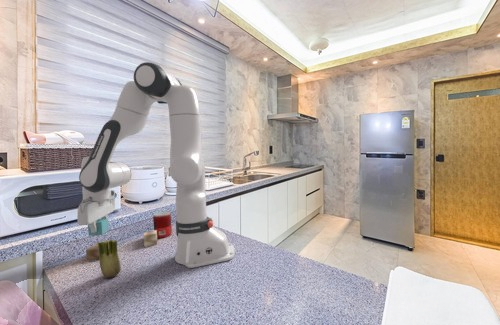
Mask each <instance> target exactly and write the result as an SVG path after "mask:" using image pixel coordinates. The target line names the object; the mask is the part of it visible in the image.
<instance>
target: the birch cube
mask: <svg viewBox="0 0 500 325" xmlns="http://www.w3.org/2000/svg"><path fill="white" fill-rule="evenodd" d="M143 233H144V234H143V241H144V242H143V243H144V247H145V248H146V247H150V246H151V245H152V246H156V245H158V238H157V230H154V229H153V230H150V231H149V230H148V231H144V232H143Z"/></svg>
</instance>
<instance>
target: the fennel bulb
mask: <svg viewBox="0 0 500 325" xmlns="http://www.w3.org/2000/svg"><path fill="white" fill-rule="evenodd" d="M108 242H109V246H108ZM98 246H99V259H98V260H99V267H100V271H101V273H102V276H103V278H105V279H111V278H114V277H116V276H117V275H118V274H120V273H121V271H122V270H121V260H120V257H119V253H118V240H117V239H115V240H114V239H109V240H105V241H103V240H101V241H98Z"/></svg>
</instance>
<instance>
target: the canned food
mask: <svg viewBox="0 0 500 325" xmlns="http://www.w3.org/2000/svg"><path fill="white" fill-rule="evenodd" d="M152 219H153V230H157V239H165V238H168V237H170V236H171V235H172V234H173V233H172V232H173V230H172V228H173V227H172V214H171V211H170V210H169V211H168V210H164V211H163V210H162V211H158V212H155V213H153V214H152Z"/></svg>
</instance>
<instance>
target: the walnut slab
mask: <svg viewBox="0 0 500 325" xmlns="http://www.w3.org/2000/svg"><path fill="white" fill-rule="evenodd" d="M108 246H109V241H108ZM85 252H86V253H85V254H86V260H99V246H98V243H95V244H94V245H92V246H90V247H88V248H86V249H85Z"/></svg>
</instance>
